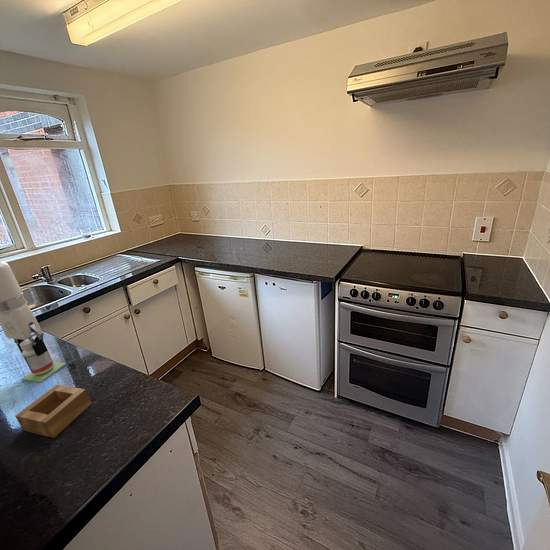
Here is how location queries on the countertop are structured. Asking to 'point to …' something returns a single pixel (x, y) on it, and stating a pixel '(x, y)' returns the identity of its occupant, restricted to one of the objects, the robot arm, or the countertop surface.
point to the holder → (54, 410)
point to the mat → (44, 376)
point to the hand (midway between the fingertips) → (34, 352)
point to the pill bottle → (36, 359)
